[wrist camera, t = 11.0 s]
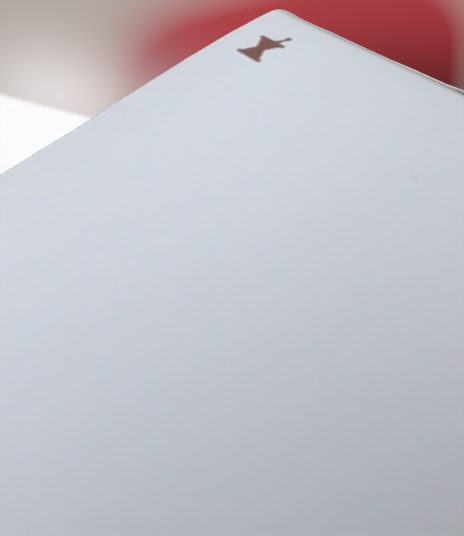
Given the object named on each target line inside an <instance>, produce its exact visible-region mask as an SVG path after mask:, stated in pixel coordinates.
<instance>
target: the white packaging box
mask: <svg viewBox="0 0 464 536" xmlns="http://www.w3.org/2000/svg"><path fill="white" fill-rule="evenodd" d="M0 536H464V91H463V90H461V89H458V88H456V87H453V86H450V85H447V84H445V83H443V82H440V81H438V80H436V79H434V78H431V77H429V76H427V75H424V74H422V73H420V72H418V71H416V70H414V69H412V68H409V67H406V66H405V65H402V64H400V63H397V62H395V61H393V60H390V59H388V58H386V57H383V56H381V55H379V54H377V53H375V52H373V51H370V50H368V49H366V48H364V47H361V46H359V45H357V44H355V43H353V42H351V41H349V40H346V39H345V38H342V37H340V36H338V35H336V34H334V33H332V32H330V31H327V30H325V29H322V28H320V27H317V26H315V25H313V24H311V23H309V22H307V21H305V20H302V19H301V18H299V17H297V16H295V15H294V14H292V13H290V12H287V11H285V10H280V9H278V10H274V11H271V12H269V13H267V14H265V15H262V16H260V17H259V18H257V19H255V20H253V21H251V22H249V23H247V24H246V25H244V26H242V27H240V28H238V29H236V30H234V31H232V32H231V33H229V34H227V35H225V36H224V37H222V38H220V39H219V40H217V41H215V42H214V43H212V44H210V45H209V46H207V47H205V48H204V49H202V50H200V51H199V52H197V53H195V54H194V55H192V56H190V57H188V58H187V59H185V60H184V61H182V62H181V63H179V64H177V65H176V66H174V67H172V68H171V69H169V70H168V71H166V72H165V73H163V74H161V75H160V76H158V77H157V78H155V79H153V80H152V81H150V82H149V83H147V84H145V85H144V86H142V87H141V88H139V89H137V90H136V91H134V92H133V93H131V94H129V95H128V96H126V97H125V98H123V99H121V100H120V101H118V102H117V103H115V104H113V105H112V106H110V107H108V108H107V109H105V110H104V111H102V112H100V113H99V114H98V115H96V116H94V117H93V118H91V119H90V120H88V121H87V122H85V123H84V124H82V125H81V126H79V127H78V128H76V129H74V130H73V131H71V132H69V133H68V134H66V135H64V136H63V137H61V138H60V139H58V140H56V141H55V142H53V143H51V144H50V145H48V146H47V147H45V148H43V149H42V150H40V151H38V152H37V153H35V154H33V155H32V156H30V157H29V158H27V159H25V160H24V161H22V162H21V163H19V164H17V165H16V166H14V167H13V168H11V169H9V170H8V171H6V172H5V173H3V174H1V175H0Z"/></svg>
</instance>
